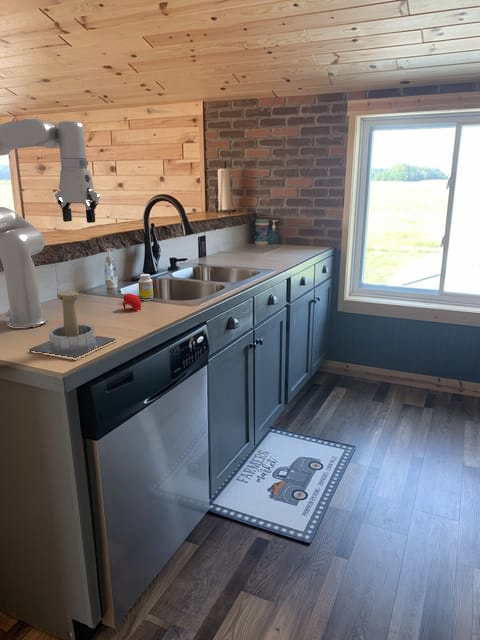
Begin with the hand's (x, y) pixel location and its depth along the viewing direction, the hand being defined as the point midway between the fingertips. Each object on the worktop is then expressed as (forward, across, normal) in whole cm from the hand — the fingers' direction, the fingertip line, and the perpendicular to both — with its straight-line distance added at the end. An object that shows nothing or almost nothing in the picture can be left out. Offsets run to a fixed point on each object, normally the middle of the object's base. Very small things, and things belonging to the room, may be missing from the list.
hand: (79, 221), depth 150 cm
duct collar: (+34, -12, +19) cm, 41 cm away
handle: (+33, -11, +19) cm, 40 cm away
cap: (+34, -1, -22) cm, 41 cm away
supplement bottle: (+34, +3, -37) cm, 50 cm away
